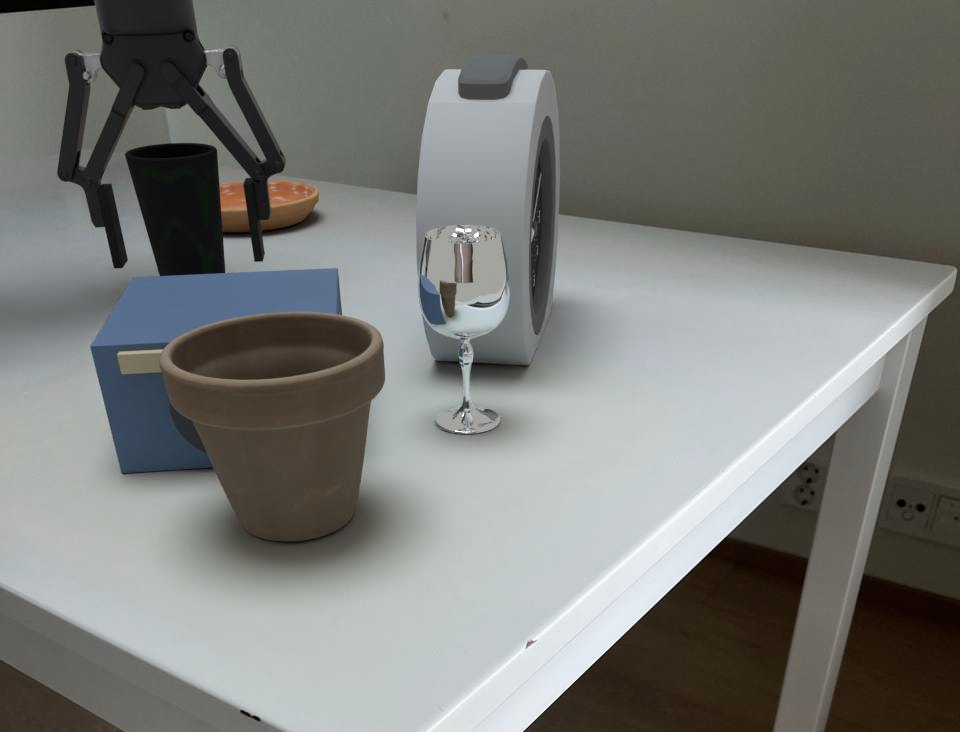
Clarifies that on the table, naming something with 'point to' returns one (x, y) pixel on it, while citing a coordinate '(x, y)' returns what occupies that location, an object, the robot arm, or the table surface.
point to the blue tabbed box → (162, 318)
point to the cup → (180, 206)
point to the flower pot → (281, 413)
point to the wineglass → (464, 304)
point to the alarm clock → (496, 188)
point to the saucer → (285, 200)
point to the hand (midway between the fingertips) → (190, 261)
